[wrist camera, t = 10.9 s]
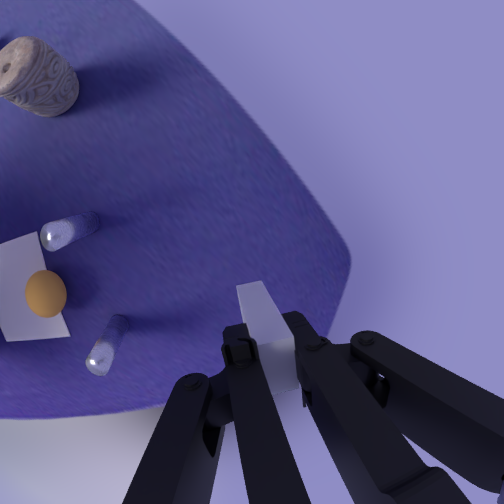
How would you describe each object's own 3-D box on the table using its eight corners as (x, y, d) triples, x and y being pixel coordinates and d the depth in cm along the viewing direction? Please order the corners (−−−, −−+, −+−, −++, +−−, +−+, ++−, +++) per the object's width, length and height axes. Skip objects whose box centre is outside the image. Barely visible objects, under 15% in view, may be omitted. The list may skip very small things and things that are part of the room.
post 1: (83, 235, 27) (44, 253, 19) (79, 214, 27) (37, 226, 18) (101, 230, 28) (64, 248, 19) (97, 209, 27) (58, 219, 18)
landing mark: (7, 341, 28) (6, 341, 28) (-24, 253, 24) (-24, 253, 24) (70, 335, 29) (70, 336, 29) (37, 231, 26) (36, 231, 26)
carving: (87, 108, 24) (33, 76, 12) (37, 127, 23) (-25, 111, 12) (89, 62, 22) (44, 18, 11) (39, 83, 22) (-15, 54, 10)
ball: (78, 311, 26) (66, 302, 30) (62, 264, 25) (53, 262, 28) (39, 330, 22) (32, 318, 25) (20, 282, 21) (17, 277, 24)
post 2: (114, 333, 30) (91, 376, 22) (108, 316, 30) (81, 356, 21) (131, 330, 31) (112, 375, 22) (125, 313, 30) (102, 354, 21)
